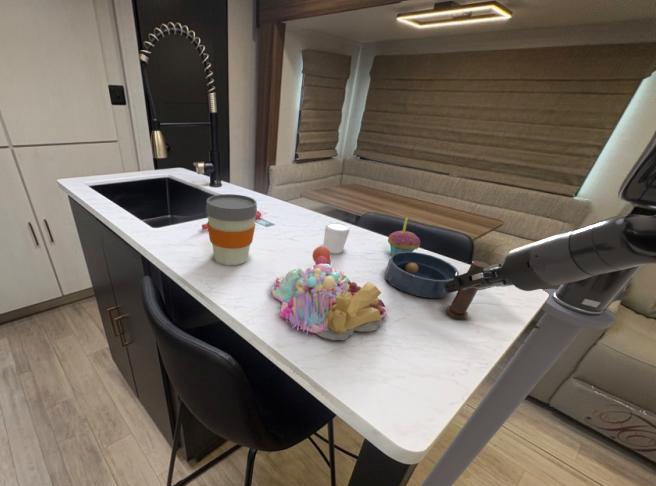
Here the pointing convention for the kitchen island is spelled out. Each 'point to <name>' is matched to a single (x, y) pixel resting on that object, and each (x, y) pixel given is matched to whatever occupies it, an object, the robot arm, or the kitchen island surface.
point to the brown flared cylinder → (464, 296)
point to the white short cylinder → (335, 237)
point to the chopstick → (204, 226)
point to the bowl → (420, 274)
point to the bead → (411, 268)
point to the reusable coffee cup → (231, 227)
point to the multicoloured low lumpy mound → (328, 300)
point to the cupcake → (403, 240)
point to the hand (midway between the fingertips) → (462, 286)
